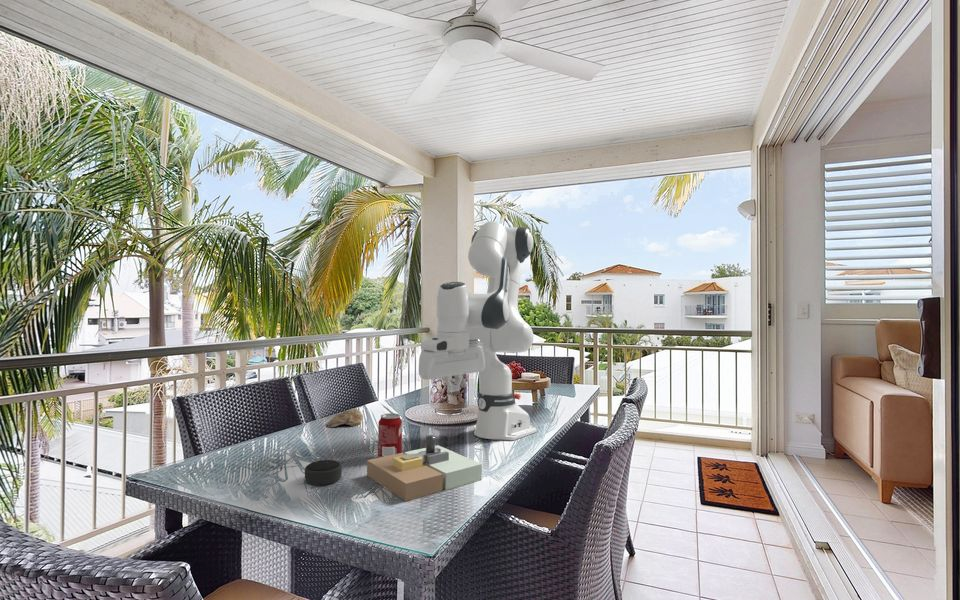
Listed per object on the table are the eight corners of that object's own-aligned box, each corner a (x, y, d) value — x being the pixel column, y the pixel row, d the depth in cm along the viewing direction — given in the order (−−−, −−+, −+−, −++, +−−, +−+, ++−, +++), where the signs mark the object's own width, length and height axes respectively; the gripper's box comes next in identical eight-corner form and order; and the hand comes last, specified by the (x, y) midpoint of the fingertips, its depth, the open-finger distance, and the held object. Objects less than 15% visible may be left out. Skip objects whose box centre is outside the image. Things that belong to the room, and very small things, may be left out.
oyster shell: (328, 422, 181) (328, 409, 181) (363, 420, 184) (363, 407, 184) (326, 429, 172) (327, 415, 171) (363, 427, 174) (363, 413, 174)
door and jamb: (437, 459, 140) (438, 438, 140) (481, 479, 124) (481, 456, 124) (366, 475, 126) (367, 452, 126) (405, 501, 111) (406, 474, 111)
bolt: (434, 456, 129) (434, 434, 129) (439, 459, 127) (439, 436, 127) (400, 464, 122) (401, 440, 122) (405, 467, 121) (406, 442, 120)
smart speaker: (348, 476, 126) (348, 460, 126) (329, 489, 118) (329, 472, 118) (317, 472, 128) (318, 457, 128) (297, 484, 120) (297, 468, 120)
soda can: (396, 461, 137) (397, 419, 137) (374, 459, 139) (374, 417, 139) (405, 454, 144) (405, 413, 144) (383, 452, 145) (384, 412, 145)
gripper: (475, 337, 142) (475, 384, 143) (415, 343, 130) (415, 394, 130) (489, 339, 138) (489, 387, 138) (428, 345, 125) (428, 399, 125)
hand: (453, 391), depth 134 cm, fingers closed
